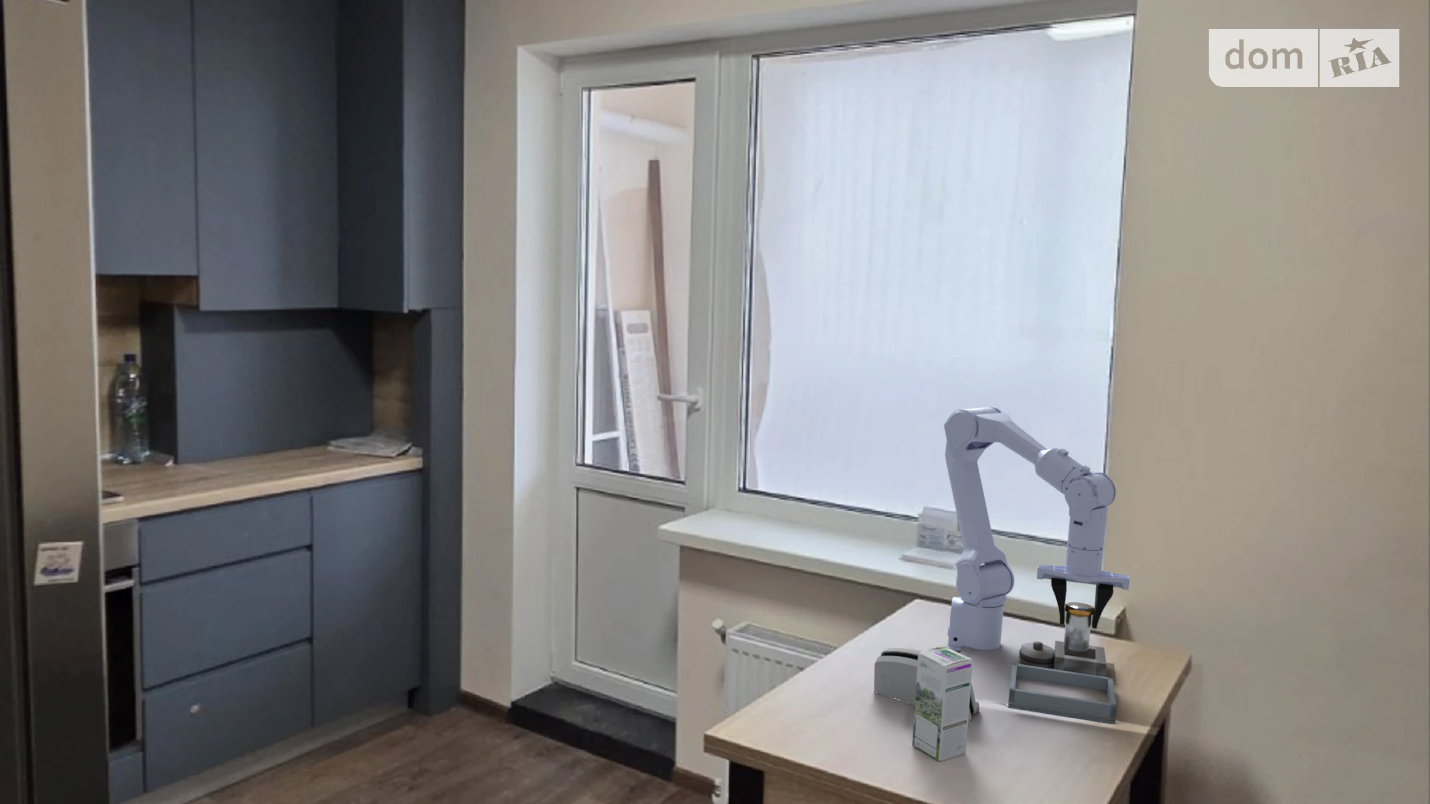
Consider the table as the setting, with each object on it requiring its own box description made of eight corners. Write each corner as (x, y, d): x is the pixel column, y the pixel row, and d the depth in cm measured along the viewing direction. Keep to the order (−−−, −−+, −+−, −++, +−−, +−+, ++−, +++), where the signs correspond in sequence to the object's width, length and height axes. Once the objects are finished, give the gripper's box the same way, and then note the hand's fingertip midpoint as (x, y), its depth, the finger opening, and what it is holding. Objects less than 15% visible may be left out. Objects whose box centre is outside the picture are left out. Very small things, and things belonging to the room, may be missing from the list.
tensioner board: (1017, 675, 186) (1019, 650, 185) (1019, 655, 195) (1021, 631, 194) (1116, 690, 181) (1118, 664, 180) (1113, 669, 190) (1115, 644, 190)
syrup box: (967, 754, 155) (975, 657, 153) (937, 763, 152) (945, 664, 150) (939, 738, 160) (946, 644, 158) (909, 746, 157) (916, 651, 155)
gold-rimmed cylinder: (1062, 649, 181) (1065, 609, 180) (1061, 640, 185) (1065, 600, 184) (1091, 653, 179) (1094, 613, 178) (1089, 643, 184) (1093, 604, 183)
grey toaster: (982, 712, 170) (978, 661, 166) (969, 731, 167) (964, 679, 163) (887, 682, 180) (881, 633, 176) (873, 700, 177) (867, 650, 173)
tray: (1008, 707, 172) (1009, 689, 172) (1010, 679, 183) (1012, 663, 183) (1114, 724, 168) (1116, 706, 167) (1110, 695, 179) (1112, 678, 178)
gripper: (1039, 546, 178) (1032, 626, 180) (1133, 557, 174) (1125, 638, 176) (1039, 536, 184) (1033, 613, 186) (1130, 546, 180) (1122, 624, 182)
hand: (1077, 624), depth 181 cm, fingers closed on gold-rimmed cylinder, 4 cm apart
